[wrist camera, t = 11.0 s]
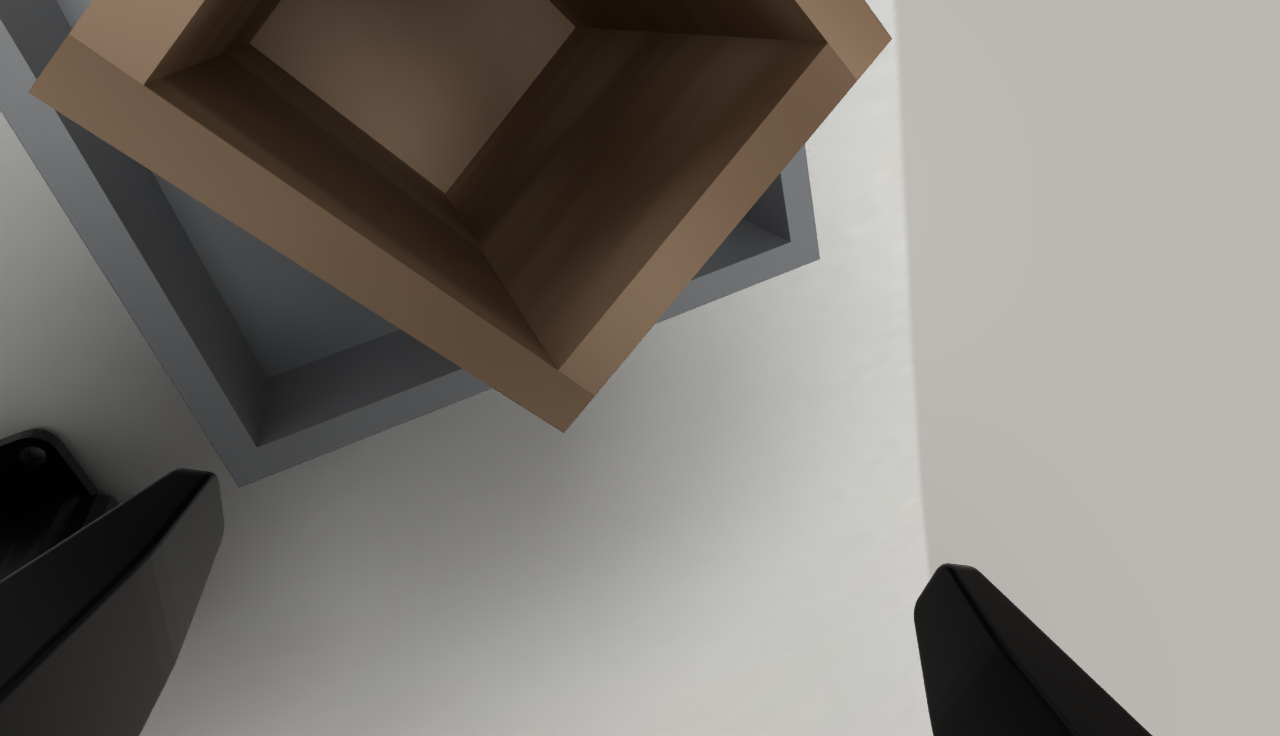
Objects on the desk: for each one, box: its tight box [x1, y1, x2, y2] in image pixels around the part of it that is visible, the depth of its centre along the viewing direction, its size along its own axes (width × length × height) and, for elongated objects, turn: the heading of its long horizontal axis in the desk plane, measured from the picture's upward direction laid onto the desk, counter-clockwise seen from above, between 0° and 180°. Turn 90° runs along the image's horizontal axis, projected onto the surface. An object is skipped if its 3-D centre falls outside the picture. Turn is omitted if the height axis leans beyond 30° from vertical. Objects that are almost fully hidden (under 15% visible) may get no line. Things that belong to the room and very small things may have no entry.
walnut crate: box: [28, 0, 892, 433], centre depth 12 cm, size 6×6×11 cm
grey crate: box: [0, 0, 820, 487], centre depth 16 cm, size 14×14×4 cm
